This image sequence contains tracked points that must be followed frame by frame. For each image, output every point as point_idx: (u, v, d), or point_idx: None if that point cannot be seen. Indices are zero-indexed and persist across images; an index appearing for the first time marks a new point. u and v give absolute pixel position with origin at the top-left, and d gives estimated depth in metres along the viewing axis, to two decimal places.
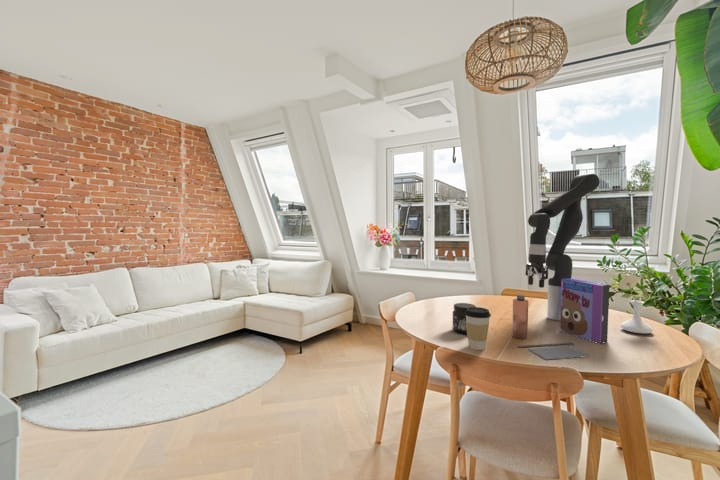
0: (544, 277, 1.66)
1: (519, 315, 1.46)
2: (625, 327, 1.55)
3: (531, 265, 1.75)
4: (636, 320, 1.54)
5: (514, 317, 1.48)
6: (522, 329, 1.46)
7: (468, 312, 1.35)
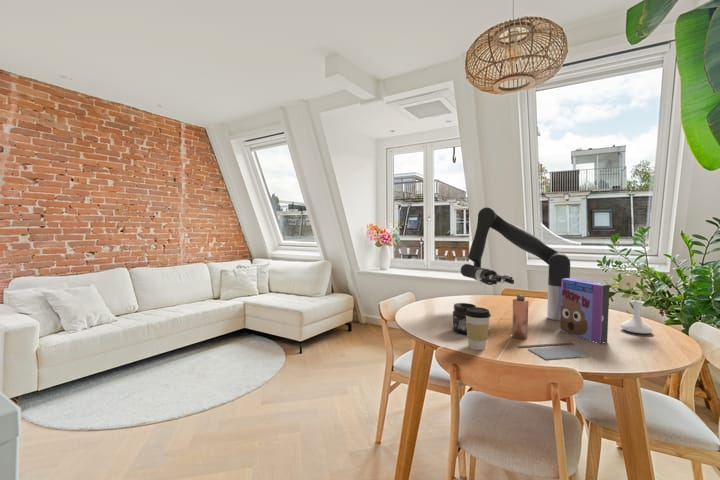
0: (484, 281, 1.64)
1: (519, 315, 1.46)
2: (625, 327, 1.55)
3: None
4: (636, 320, 1.54)
5: (514, 317, 1.48)
6: (522, 329, 1.46)
7: (468, 312, 1.35)
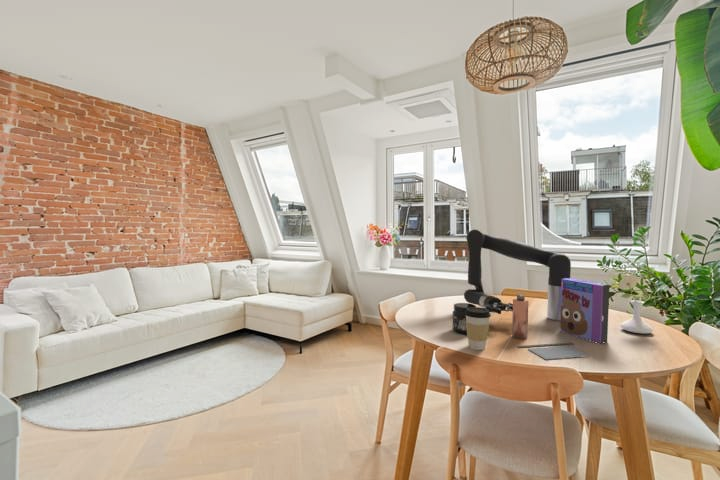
0: None
1: (519, 315, 1.46)
2: (625, 327, 1.55)
3: None
4: (636, 320, 1.54)
5: (514, 317, 1.48)
6: (522, 329, 1.46)
7: (468, 312, 1.35)
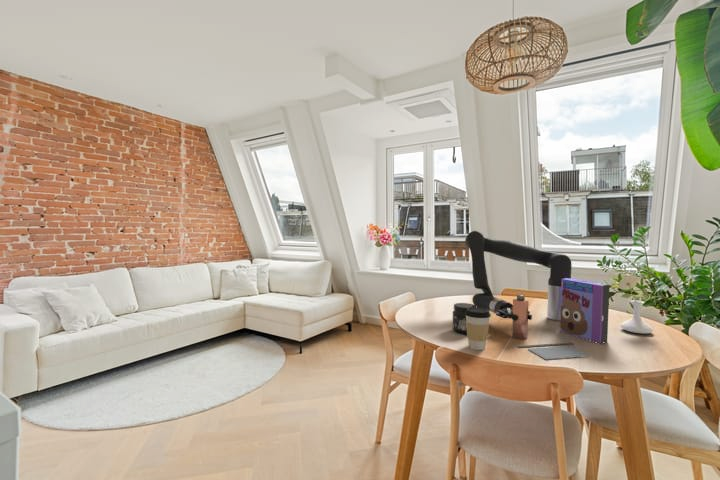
0: (503, 316, 1.51)
1: (519, 315, 1.46)
2: (625, 327, 1.55)
3: None
4: (636, 320, 1.54)
5: None
6: (523, 329, 1.46)
7: (468, 312, 1.35)
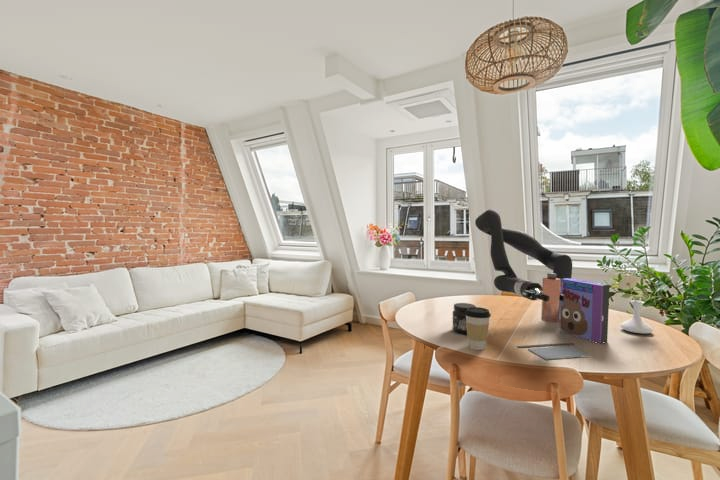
0: (531, 297, 1.34)
1: (550, 295, 1.30)
2: (625, 327, 1.55)
3: None
4: (636, 320, 1.54)
5: None
6: (554, 311, 1.30)
7: (468, 312, 1.35)
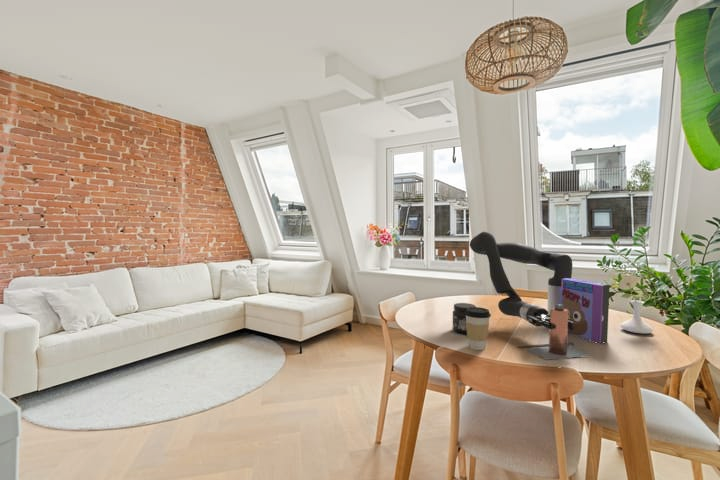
0: (535, 324, 1.33)
1: (558, 327, 1.28)
2: (625, 327, 1.55)
3: None
4: (636, 320, 1.54)
5: (552, 329, 1.30)
6: (562, 343, 1.28)
7: (468, 312, 1.35)
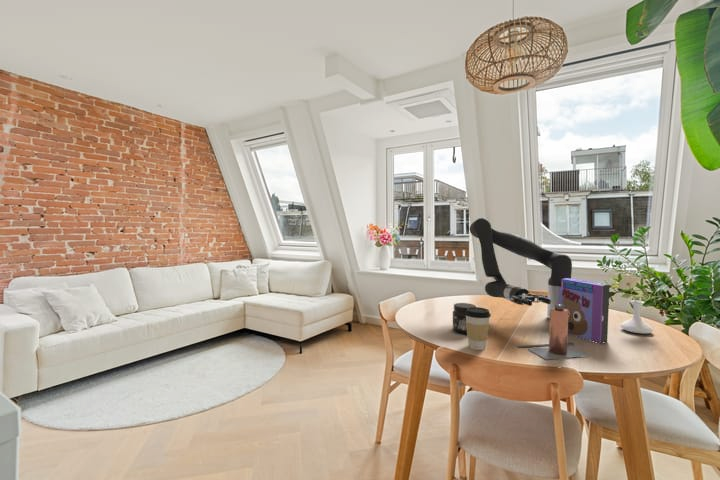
0: (517, 302, 1.47)
1: (558, 327, 1.28)
2: (625, 327, 1.55)
3: None
4: (636, 320, 1.54)
5: (552, 329, 1.30)
6: (562, 343, 1.28)
7: (468, 312, 1.35)
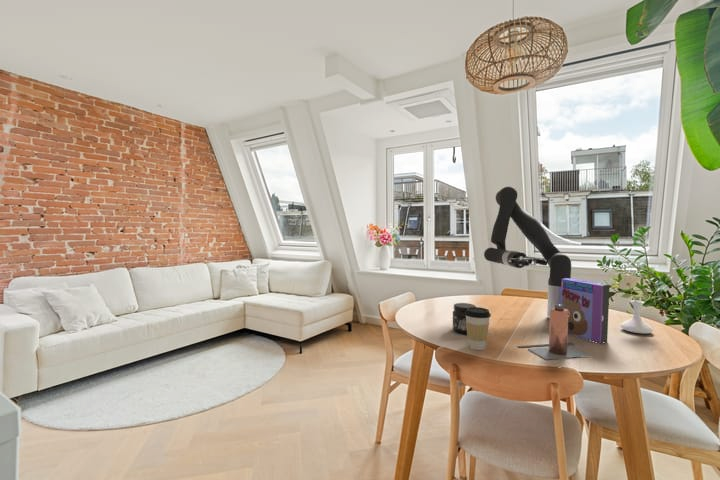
0: (514, 263, 1.51)
1: (558, 327, 1.28)
2: (625, 327, 1.55)
3: None
4: (636, 320, 1.54)
5: (552, 329, 1.30)
6: (562, 343, 1.28)
7: (468, 312, 1.35)
